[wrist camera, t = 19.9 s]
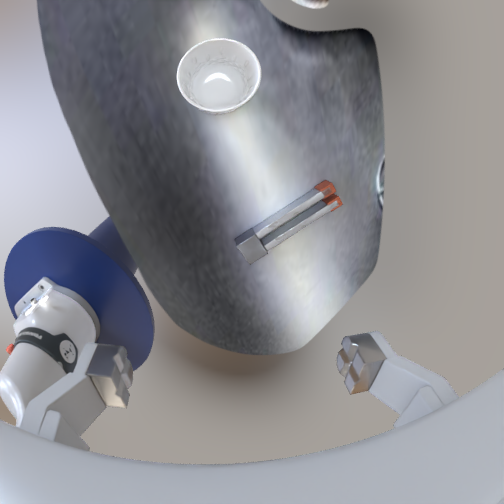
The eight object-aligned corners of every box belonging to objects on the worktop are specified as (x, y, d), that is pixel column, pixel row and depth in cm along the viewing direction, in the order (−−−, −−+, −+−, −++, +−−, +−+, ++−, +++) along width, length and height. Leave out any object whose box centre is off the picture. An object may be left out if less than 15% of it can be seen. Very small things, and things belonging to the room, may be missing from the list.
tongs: (325, 179, 37) (333, 183, 34) (336, 200, 38) (344, 205, 36) (234, 238, 39) (235, 246, 36) (247, 257, 40) (250, 265, 38)
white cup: (237, 125, 32) (246, 121, 23) (179, 110, 30) (165, 101, 21) (256, 72, 29) (272, 51, 20) (198, 57, 27) (193, 30, 18)
